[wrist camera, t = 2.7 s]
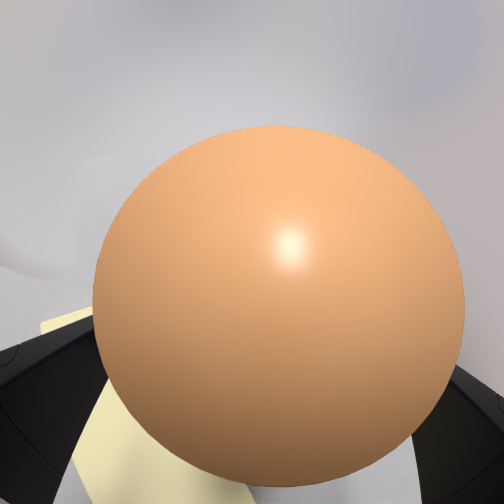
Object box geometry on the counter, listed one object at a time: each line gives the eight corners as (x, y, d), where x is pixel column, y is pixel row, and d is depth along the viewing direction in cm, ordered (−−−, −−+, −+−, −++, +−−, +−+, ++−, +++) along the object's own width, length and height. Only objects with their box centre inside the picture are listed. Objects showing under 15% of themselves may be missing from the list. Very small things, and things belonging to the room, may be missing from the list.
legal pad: (271, 532, 10) (272, 540, 9) (122, 545, 9) (117, 551, 8) (174, 282, 17) (169, 276, 16) (44, 324, 16) (35, 320, 15)
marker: (306, 375, 15) (501, 360, 2) (237, 400, 14) (165, 523, 2) (280, 310, 17) (357, 109, 4) (213, 334, 16) (83, 181, 3)
